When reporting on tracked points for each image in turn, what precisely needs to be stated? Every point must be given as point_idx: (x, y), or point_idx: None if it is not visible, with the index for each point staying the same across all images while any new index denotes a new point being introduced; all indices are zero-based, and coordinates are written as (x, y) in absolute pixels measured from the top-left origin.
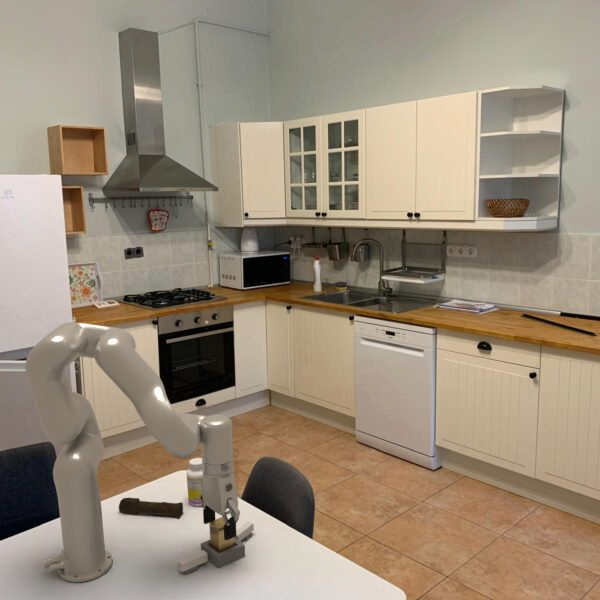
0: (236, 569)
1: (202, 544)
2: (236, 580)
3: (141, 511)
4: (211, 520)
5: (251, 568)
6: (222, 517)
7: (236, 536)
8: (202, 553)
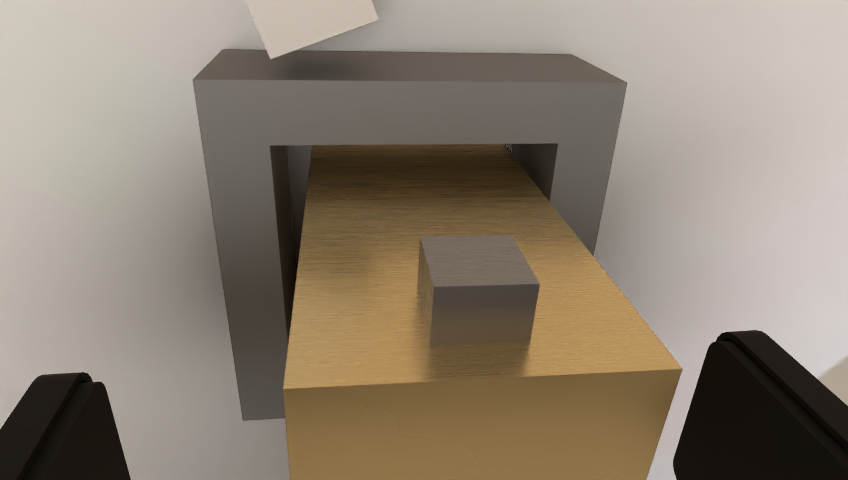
0: (655, 229)
1: (274, 415)
2: (749, 295)
3: None
4: (106, 456)
5: (754, 126)
6: (311, 437)
7: (357, 26)
8: None
